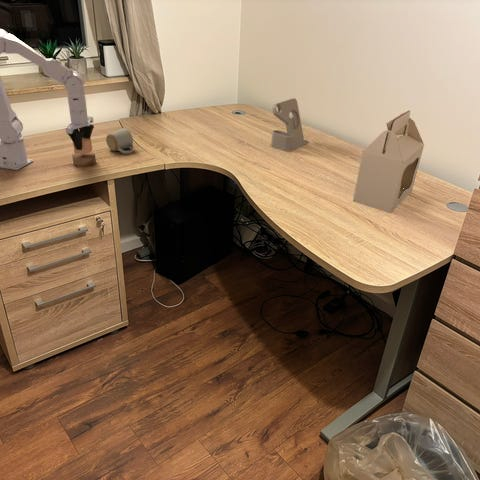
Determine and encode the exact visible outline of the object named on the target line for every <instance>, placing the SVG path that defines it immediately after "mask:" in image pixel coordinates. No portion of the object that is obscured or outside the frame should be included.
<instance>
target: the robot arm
mask: <svg viewBox="0 0 480 480" xmlns="http://www.w3.org/2000/svg"><path fill="white" fill-rule="evenodd" d="M4 52H5V54H9V55H11V54H14V55H15V54H16V55H17V54H18V55H19V56H21V58H22V57H23V58H24V59H26V60H27V61H29V62H31V63H33V64H35V65H36V66H39V68H41V70H42V71H43V74H44V75H46V76H47V77H49V78H50V79H52V80H53V81H56V82H57V83H58V84H60V85H62V86H64V88H65V90H66V92H67V101H68V108H69V109H68V110H69V117H70V122H69V123H68V125H67V126H65V128H64V129H65V133H66V135H68V136H69V137H70V139H71V141H72V144H73V143H74V145H73V147H74V146H75V148H76V149H77V150H82V138H89V139H92V138H91V137H92V133H93V130H94V128H95V125H94V124H93V123H94V117H93V116H88V110H87V109H88V108H87V99H86V95H85V89H84V86H85V78H84V76H83V74H81V73H80V72H79V71H74V69H72V68H68V67H67V66H66V65H64V64H62V63H61V60H59V59H58V58H56V59H54V58H52V57H51V58H46V57H45V56H44V55H42V54H40V53H39V52H37V51H36V50H35V49H33V48H32V47H31V46H29V45H28V44H26V43H25V42H23V41H22V40H20V39H19V38H17V37H16V36H15V35H14V34H11V33H10V32H9V33H8V32H7V31H6V30H5V29H2V28H0V55H1V54H2V53H4ZM23 130H24V125H23V122H22V121H21V120H20V119H19V118H18V115H17V114H16V112H15V111H14V110H13V108H12V106H11V103H10V100H9V96H8V94H7V91H6V89H5V85H4V82H3V80H2V76H1V75H0V168H3V169H9V170H14V171H17V170H19V169H21V168H23V167H25V166H27V165H29V164H31V163H33V162H34V159H32V158H28V155H27V151H26V145H25V139H24V136H23V134H22V132H23Z"/></svg>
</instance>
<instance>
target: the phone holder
mask: <svg viewBox="0 0 480 480" xmlns="http://www.w3.org/2000/svg"><path fill="white" fill-rule="evenodd" d="M272 113H273V116H274V117H276V118H277V119H278V120H280V121H281V122H282V123H284V124H285V128H286V131H282V130H278V129H277V130H272V132H271V143H270V148H273V149H277V150H279V151H283V152H286V153H289V152H293V151H295V150H297V149H299V148H301V147H303V146H306V145H308V144H309V142H310V141H309V140H307V139H305V138H304V131H303V128H302V121H301V116H300V110H299V103H298V100H297V99H296V98H294V97H293V98H288V99H286V100H283V101H280V102H277V103H274V104H273V106H272ZM290 113H291V114H292V116H291V117H290Z"/></svg>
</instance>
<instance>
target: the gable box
mask: <svg viewBox="0 0 480 480" xmlns="http://www.w3.org/2000/svg"><path fill="white" fill-rule="evenodd" d="M410 116H411V110H407V111H405V112H403V113H401V114H400V115H398V116H396V117H394V118H393V119H391V120H389V121H388V122H386V127H387V130H386V129H385V130H384V131H382V133H380V134H379V135H378V136H377V137H376V138H375V139H373V141H372V142H371V143H370V144H369V145H368V146H367V147H366V148H365V149H363V150H362V152H361V157H360V161H359V162H360V163H359V167H358V172H357V178H356V183H355V189H354V193H353V198H352V201H353V202H355V203H359V204H363V205H366V206H368V207H371V208H374V209H378V210H381V211H384V212H387V213H392V212H393V211H394V210H395V209H396V208H397V207H398V206H399V205H400V204H401V203H402V202H403V201H404V200H405V199H406V198H407V197H408V196H409V195H410V193H412V192H413V188H414V185H415V181H416V179H417V178H416V177H417V174H418V169H419V165H420V162H421V159H422V154H423V151H424V147H425V143H424V141H423V139H422V137H421V134H420V132H419V129H418V127H417V124H416V123H415V121H414V120H413V119H412V118H411V117H410ZM403 188H404V189H403Z"/></svg>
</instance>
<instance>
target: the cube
mask: <svg viewBox="0 0 480 480" xmlns="http://www.w3.org/2000/svg"><path fill="white" fill-rule="evenodd" d="M72 144H73V152H74V153H73V154H75V153H78V154H84V155H86V154H88V153H90V152H92V151H93V145H92V138H90V139H89V138H82V150H77V149H76V148H75V146H74V143H73V142H72Z"/></svg>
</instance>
